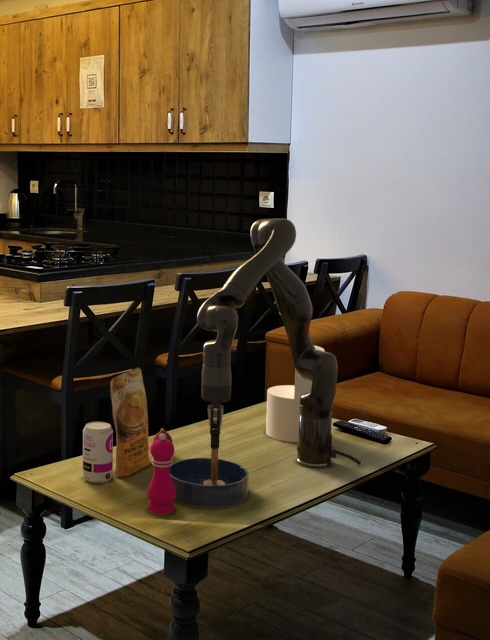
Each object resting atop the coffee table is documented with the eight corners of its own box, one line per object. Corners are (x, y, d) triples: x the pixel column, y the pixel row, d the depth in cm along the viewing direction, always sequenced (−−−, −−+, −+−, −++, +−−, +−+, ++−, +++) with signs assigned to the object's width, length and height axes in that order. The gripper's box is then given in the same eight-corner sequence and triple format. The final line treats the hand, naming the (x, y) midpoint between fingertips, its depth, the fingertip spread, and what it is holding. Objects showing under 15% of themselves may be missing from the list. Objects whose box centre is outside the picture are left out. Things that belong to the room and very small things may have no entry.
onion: (172, 451, 264) (173, 426, 263) (171, 458, 259) (172, 431, 258) (153, 451, 265) (153, 425, 264) (152, 457, 259) (152, 430, 258)
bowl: (247, 481, 241) (247, 460, 240) (248, 511, 220) (249, 488, 219) (169, 476, 243) (169, 455, 243) (163, 506, 222) (164, 483, 222)
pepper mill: (144, 505, 222) (146, 429, 220) (173, 505, 223) (174, 428, 220) (148, 517, 215) (149, 438, 213) (177, 516, 216) (179, 437, 213)
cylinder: (320, 428, 290) (324, 344, 286) (320, 444, 273) (324, 355, 269) (267, 424, 293) (270, 341, 290) (264, 439, 277) (267, 352, 273)
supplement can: (116, 475, 244) (117, 422, 242) (106, 485, 236) (107, 431, 234) (89, 471, 246) (89, 419, 245) (78, 481, 239) (78, 428, 237)
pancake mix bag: (101, 476, 243) (101, 377, 240) (138, 457, 259) (139, 364, 255) (121, 481, 239) (122, 380, 236) (158, 462, 255) (159, 367, 251)
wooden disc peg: (224, 488, 232) (226, 425, 229) (224, 496, 226) (226, 431, 224) (203, 487, 233) (204, 424, 230) (202, 495, 227) (204, 430, 225)
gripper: (231, 388, 218) (229, 456, 221) (231, 375, 232) (229, 439, 234) (200, 387, 219) (199, 454, 222) (202, 374, 233) (201, 437, 235)
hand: (214, 446), depth 228 cm, fingers closed on wooden disc peg
